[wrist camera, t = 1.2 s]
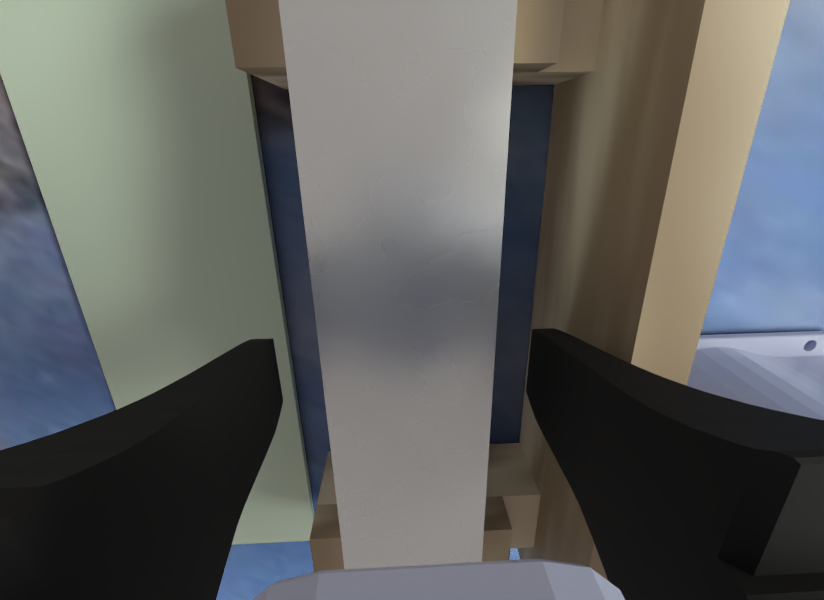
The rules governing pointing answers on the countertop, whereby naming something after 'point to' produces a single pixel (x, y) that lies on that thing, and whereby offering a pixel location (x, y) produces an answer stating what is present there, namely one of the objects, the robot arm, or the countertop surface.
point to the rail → (404, 257)
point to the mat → (159, 204)
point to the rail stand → (602, 209)
